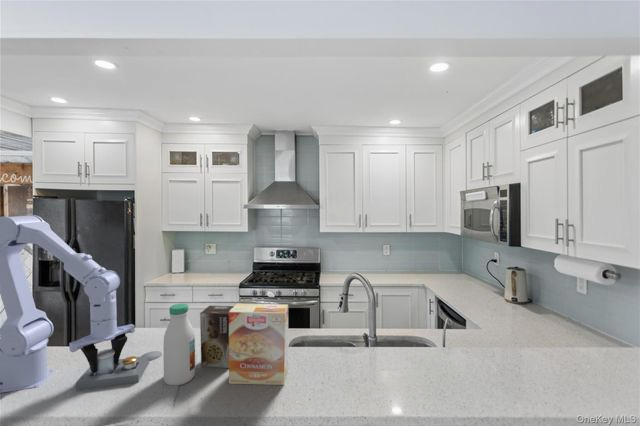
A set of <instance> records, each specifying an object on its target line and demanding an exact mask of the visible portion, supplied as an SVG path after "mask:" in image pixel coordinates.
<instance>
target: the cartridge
mask: <svg viewBox="0 0 640 426" xmlns="http://www.w3.org/2000/svg"><path fill="white" fill-rule="evenodd" d="M114 353H115V350H113V349H112V348H107V349H102V350H100V351H99V350H98V353H97V372H96V376H97V375H105V374H112V373H113V372H114Z"/></svg>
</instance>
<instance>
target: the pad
mask: <svg viewBox="0 0 640 426" xmlns="http://www.w3.org/2000/svg"><path fill="white" fill-rule="evenodd" d="M144 356H149V362H151V361H155V360H158V359H159V358H160V357H162V356H163V352H161V351H159V350H154V351H148V352H145V353H143V354H142V355H141V356H140V357H144Z"/></svg>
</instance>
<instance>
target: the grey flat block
mask: <svg viewBox="0 0 640 426" xmlns="http://www.w3.org/2000/svg"><path fill="white" fill-rule="evenodd" d="M136 357H137V356H136ZM124 359H125V358H119V362H118V364H114V372H113V373H112V374H105V375H97V376H96V372H95V373H93V372H92V371H91V369H90V366H89V367H88V368H87V369H86V371H85V372H84V373H83V374H82V375H81V376H80V378H78V379H77V381H76V382H75V391H76V392H77V391H84V390H86V391H87V390H92V389H93V390H94V389H99V388H106V387H114V386H121V385H128V384H129V385H130V384H137V383H140V381H141V379H142V377H143V375H144V373H145V371H146V369H147V368H148V366H149V364H150V361H149V356H144V357H141V356H138V357H137V360H136V369H132V370H124V369H123V363H122V361H123V360H124Z"/></svg>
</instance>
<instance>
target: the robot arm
mask: <svg viewBox="0 0 640 426" xmlns="http://www.w3.org/2000/svg"><path fill="white" fill-rule="evenodd" d="M28 244H30V245H31V244H33V245H35V244H36V245H38V246H39V247H40V248H42V249H43V250H45V251H46V252H48V253H49V254H51V255H52V256H53V257H55V258H57V259H58V260H59V261H61V262H62V263H63V270H64V271H65V272H66V273H68V274H69V275H70V276H71V277H73V278H74V279H75V280H77V281H78V282H79V283H80V284H81V285H83V286H84V287H83V290H84V293H85V295H86V296H87V297H88V301H89V308H90V309H89V314H90V316H89V317H90V334H89V335H86V336H84V337H82V338H80V339H77V340H75V341H71V342H69V344H68V345H69V352H70V353H74V352H78V350H81V352H82V354H83V355H84V357H86V360H87V362H88V365H89V367H90V369H91V371H92V372H93V373H95V372H97V353H98V352H99V349H98V348H97V347H96V344H100V343H103V342H108V341H110V344H111V349H113V350H115V353H114V364H118V362H119V359H121V358H120V357H121V354H122V351H123V349H124V347H125V346H126V345H125V344H126V343H127V342H128V336H127V335H126V334H133V333H135V331H136V330H135V325H134V324H133V323H130V324H127V325H123V326H118V325H117V323H118V322H117V317H118V316H117V290H118V288H119V287H120V284H121V278H120V276H119V275H118V273H117V272H116V271H114V270H111V269H110V270H108V269H106V268H105V267H104V266H103V267H102V266H101V265H100V264H98V263H97V262H96V261H95V260H93V256H92V255H91V254H88V253H87V254H86V253H83V252H80V253H78V252H76V251H75V250H74V249H73V248H72V247H71V246H69V244H67V242H65V241H64V240H63V239H62V238H61V237H59V235H58V234H56V232H54V231H53V230H52V229H51V226H50V223H48V222H46V221H44V219H43V218H42V217H40V216H39V215H35V214H28V215H17V216H16V215H15V216H0V297H1V301H2V305H3V308H4V312H5V314H6V317H7V318H6V319H5V321H4V322H3V324H2V325H1V326H0V350H1V353H0V394H1V393H10V392H12V391H21V390H28V389H36V388H39V387H41V385H42V384H44V383H45V382H46V381H47V380H48V379H49V378H50V377H51V376H53V374H55V372H56V369H48V343H49V338H50V337H51V336H52V335H53V333H54V328H55V327H54V324H53V322H52V321H51V320H50V319H49V317H48V316H47V314H46V312H45V311H44V310H40V309H38V308H36V303H35V301H34V297H33V293H32V291H31V287H30V283H29V280H28V276H27V274H26V270H25V267H24V262H23V260H22V256H21V254H20V253H21V252H22V251H23V250H24V248H25V247H26V246H27V245H28Z"/></svg>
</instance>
